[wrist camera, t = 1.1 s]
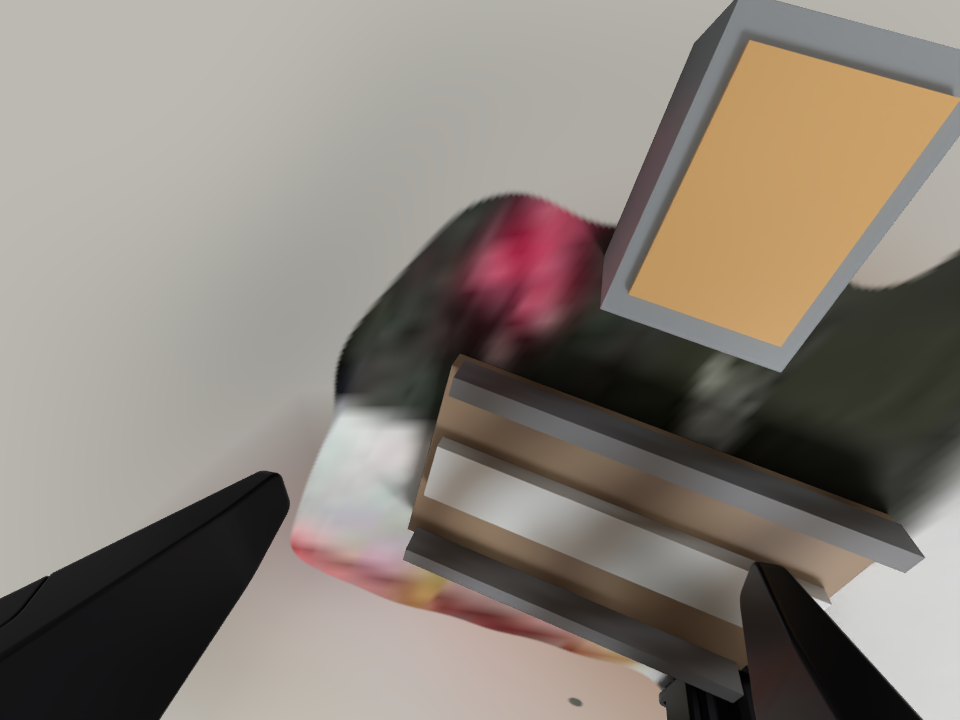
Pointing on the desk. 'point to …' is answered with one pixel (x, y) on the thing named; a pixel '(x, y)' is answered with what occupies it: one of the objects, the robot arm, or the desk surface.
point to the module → (777, 175)
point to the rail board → (624, 525)
